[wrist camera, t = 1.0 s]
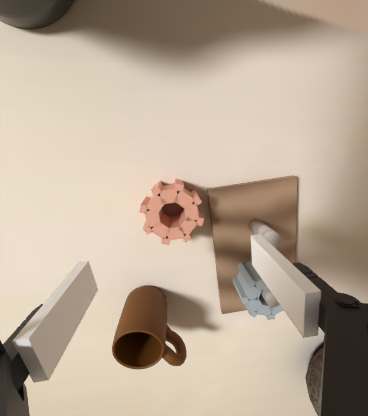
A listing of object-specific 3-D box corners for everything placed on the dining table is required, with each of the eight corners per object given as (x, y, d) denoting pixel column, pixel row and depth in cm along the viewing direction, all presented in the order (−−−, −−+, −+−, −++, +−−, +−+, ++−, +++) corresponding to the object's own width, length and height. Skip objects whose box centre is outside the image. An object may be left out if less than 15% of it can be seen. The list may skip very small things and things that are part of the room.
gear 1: (140, 184, 30) (134, 189, 25) (195, 175, 30) (199, 179, 25) (151, 234, 32) (147, 248, 28) (201, 226, 33) (206, 239, 28)
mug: (194, 305, 37) (201, 354, 28) (172, 332, 38) (172, 387, 29) (139, 277, 35) (127, 320, 26) (119, 307, 36) (100, 358, 27)
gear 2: (225, 270, 34) (233, 289, 29) (269, 246, 33) (285, 262, 28) (246, 304, 36) (257, 327, 31) (288, 282, 35) (306, 302, 30)
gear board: (207, 188, 31) (217, 198, 24) (292, 175, 31) (327, 181, 24) (220, 309, 37) (231, 344, 31) (291, 297, 38) (317, 330, 31)
